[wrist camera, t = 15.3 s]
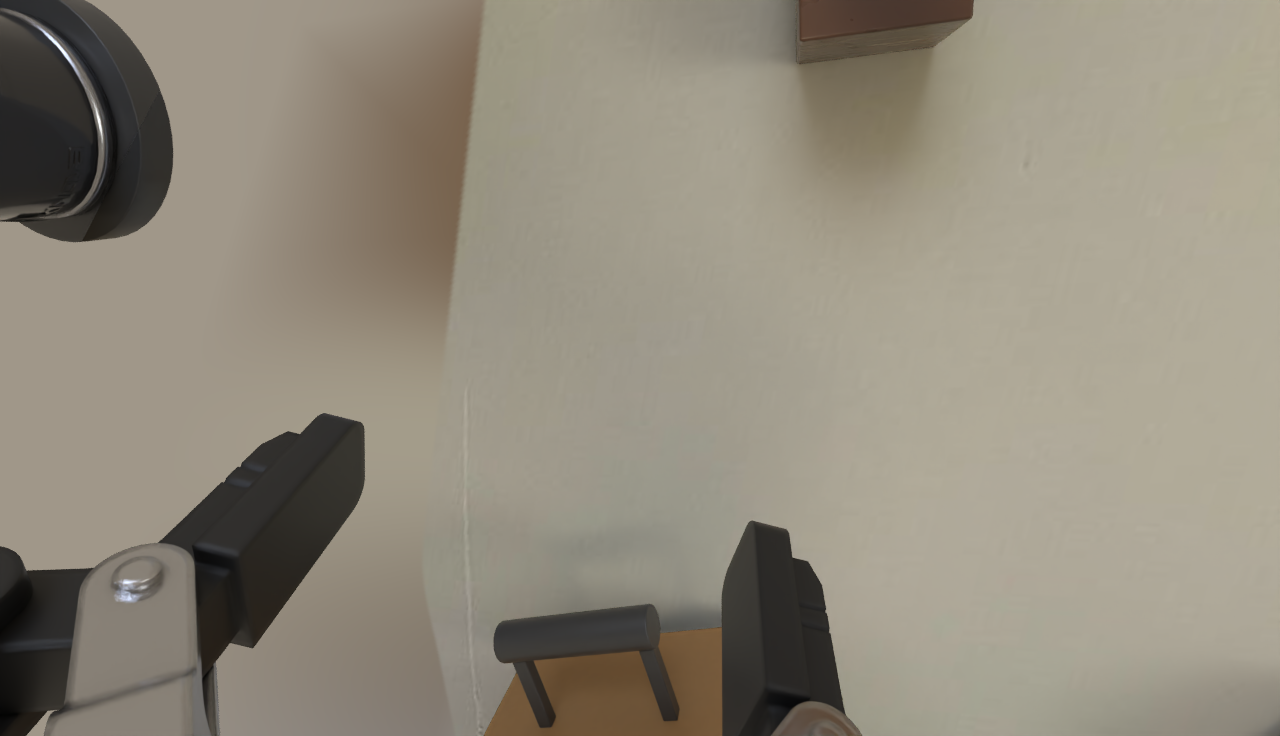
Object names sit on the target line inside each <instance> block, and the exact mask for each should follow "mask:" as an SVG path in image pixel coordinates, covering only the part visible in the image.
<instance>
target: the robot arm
mask: <svg viewBox="0 0 1280 736" xmlns="http://www.w3.org/2000/svg"><path fill="white" fill-rule="evenodd" d="M116 165H117V135H116V128H115V123H114V118H113V115H112V111H111V108H110V105H109V102H108V99H107V96H106V94H105V92H104V89H103V87H102V85H101V83H100V81H99V79H98V77H97V75H96V74H95V72H94V71H93V69H92V67H91V66H90V64H89V63H88V61H87V60H86V59H85V57H84V56H83V55H82V53H81V52H80V51H79V50H78V48H77V47H76V46H75V45H74V44H73V43H72V42H71V41H70V40H69V39H68V38H67V37H66V36H65V35H64V34H62V33H61V32H60V31H59V30H57V29H56V28H55V27H53V26H52V25H50V24H49V23H47V22H46V21H44V20H42V19H40V18H38V17H36V16H33V15H31V14H27V13H24V12H20V11H15V10H9V9H4V8H0V221H6V222H7V221H8V222H31V221H44V220H36V219H20V218H33V217H38V218H46V219H49V218H64V217H74V216H79V215H82V214H85V213H86V212H88V211H90V210H92V209H93V208H95V207H96V206H97V205H98V204H99V203H100V202H101V201H102V200H103V198H104V197H105V196H106V194H107V192H108V191H109V189H110V186H111V184H112V182H113V178H114V175H115V170H116ZM364 450H365V449H364V426H363V424H362V423H361V422H358V421H354V420H350V419H346V418H342V417H338V416H334V415H330V414H326V413H323V414H321V415H319V416H317V417H316V418H315V419H314V420H313V421H312V422H311V424H309V425H308V426H307V427H306V428H305V430H304V431H303V432H302V433H301V434H297V433H293V432H289V431H288V432H286V433H283V434H281V435H279V436H277V437H275V438H273V439H272V440H269V441H267V442H265V443H263V444H261V445H260V446H259V447H258V448H257V449H256V450H255V451H254V452H253V453H252V454H251V455H250V456H249V457H247V458H246V460H244V461H243V462H242V464H241V467H237V468H236V469H235V470H234V471H233V472H232V473H231V474H230V475H229V476H228V477H227V478H226V480H225V482H224V483H223V482H222V483H220V484H219V485H218V486H217V487H216V488H215V489H214V490H213V491H212V492H211V493H210V494H209V495H208V496H207V497H206V498H205V499H204V500H203V501H202V502H201V503H200V504H198V505H197V506H196V508H194V509H193V510H192V511H191V512H190V513H189V514H188V515H187V516H186V517H185V518H184V519H183V520H182V521H181V522H180V523H179V524H178V525H177V526H176V527H175V528H173V529H172V530H171V531H170V532H169V533H168V534H167V535H166V536H165V537H164V538H163V539H162V540H161V541H159V542H158V543H153V544H145V545H139V546H136V547H131V548H129V549H126V550H123V551H121V552H118V553H116V554H114V555H112V556H110V557H109V558H107V559H105V560H104V561H102V562H101V563H100V564H98V565H97V566H96V567H95V568H88V569H61V570H33V571H26V569H25V567H24V564H23V562H22V560H21V558H20V556H19V555H18V554H17V553H16V552H14V551H12V550H10V549H8V548H5V547H0V736H26V735H27V734H28V733H29V732H30V731H31V729H32V728H33V727H34V726H35V725H36V724H37V723H38V721H39V720H40V719H41V718H42V717H43V716H44V715H45V713H46V712H47V711H50V710H57V711H54V712H53V713H52V714H51V715H50V716H49V718H48V721H47V724H46V727H45V732H44V736H220V728H219V708H218V686H217V668H216V660H217V659H218V658H219V656H220V655H221V654H222V653H223V651H224V650H225V649H226V647H227V646H228V644H229V643H233V644H237V645H241V646H245V647H250V648H254V646H255V645H256V644H257V642H258V641H259V639H260V638H261V637H262V635H263V634H264V633H265V631H266V630H267V628H268V627H269V626H270V624H271V623H272V622H273V620H274V619H275V617H276V616H277V615H278V613H279V612H280V610H281V609H282V608H283V606H284V605H285V604H286V602H287V601H288V599H289V598H290V597H291V595H292V594H293V593H294V591H295V590H296V588H297V587H298V586H299V584H300V583H301V582H302V580H303V579H304V577H305V576H306V575H307V573H308V572H309V570H310V569H311V568H312V566H313V565H314V564H315V562H316V561H317V559H318V558H319V557H320V555H321V554H322V553H323V551H324V550H325V548H326V547H327V545H328V544H329V543H330V541H331V540H332V539H333V537H334V536H335V534H336V533H337V532H338V530H339V529H340V528H341V526H342V525H343V524H344V522H345V521H346V519H347V518H348V517H349V515H350V514H351V513H352V511H353V510H354V508H355V506H356V505H357V503H358V501H359V498H360V496H361V493H362V490H363V486H364V480H365V459H364V458H365V451H364ZM825 610H826V606H825V600H824V595H823V589H822V584H821V583H820V581H819V579H818V578H817V576H816V574H815V573H814V571H813V569H812V567H811V566H810V564H809V562H808V561H804V560H800V559H796V558H792V552H791V544H790V537H789V533H788V531H787V530H786V529H783V528H779V527H775V526H771V525H767V524H763V523H759V522H755V521H750V522H749V523H748V525H747V527H746V529H745V531H744V533H743V536H742V538H741V540H740V543H739V545H738V547H737V549H736V552H735V554H734V556H733V558H732V561H731V563H730V565H729V568H728V570H727V573H726V576H725V580H724V585H723V591H722V736H862V734H861V733H860V731H859V730H858V728H857V727H856V726H855V725H854V723H853V722H852V721H851V720H850V719H849V718H848V717H847V716H846V714H845V711H844V707H843V701H842V696H841V690H840V685H839V679H838V673H837V668H836V662H835V656H834V651H833V645H832V640H831V634H830V633H829V623H828V617H827V613H825Z"/></svg>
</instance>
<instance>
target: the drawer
mask: <svg viewBox="0 0 1280 736" xmlns="http://www.w3.org/2000/svg"><path fill="white" fill-rule="evenodd" d="M494 651H495V655H496V657H497V659H498V660H499V661H500V662H502V663H513V665H514V667H515V670H516V672H517V673H516V675H515V677H514V678H513V680H512V682H511V684H510V686H509V688H508V690H507V692H506V694H505V696H504V698H503V700H502V701H501V703H500V705H499V707H498V709H497V711H496V713H495V715H494V717H493V719H492V721H491V722H490V724H489V726H488V728H487V730H486V732H485V734H484V736H722V627H718V628H708V629H698V630H688V631H678V632H668V633H660V623H659V617H658V614H657V611H656V609H655V607H654V606H653V605H652V604H645V605H636V606H628V607H619V608H610V609H601V610H593V611H584V612H575V613H566V614H558V615H549V616H540V617H531V618H523V619H514V620H505V621H502V622H501V623H499V625H498V626H497V628H496V631H495V634H494Z"/></svg>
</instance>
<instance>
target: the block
mask: <svg viewBox="0 0 1280 736" xmlns="http://www.w3.org/2000/svg"><path fill="white" fill-rule="evenodd" d="M973 3H974V0H796V62H797V64H804V63H812V62H820V61H828V60H836V59H844V58H851V57H859V56H867V55H875V54H883V53H890V52H898V51H906V50H914V49H922V48H930V47H934V46H936V45H937V44H938V43H940V42H941V41H942V40H944V39H945V38H946V37H948V36H949V35H950V34H951V33H953V32H954V31H955V30H957V29H958V28H959V27H961V26H962V25H963V24H965V23H966V22H967V21H968V20H970V19H971V18H972V16H973Z"/></svg>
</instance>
